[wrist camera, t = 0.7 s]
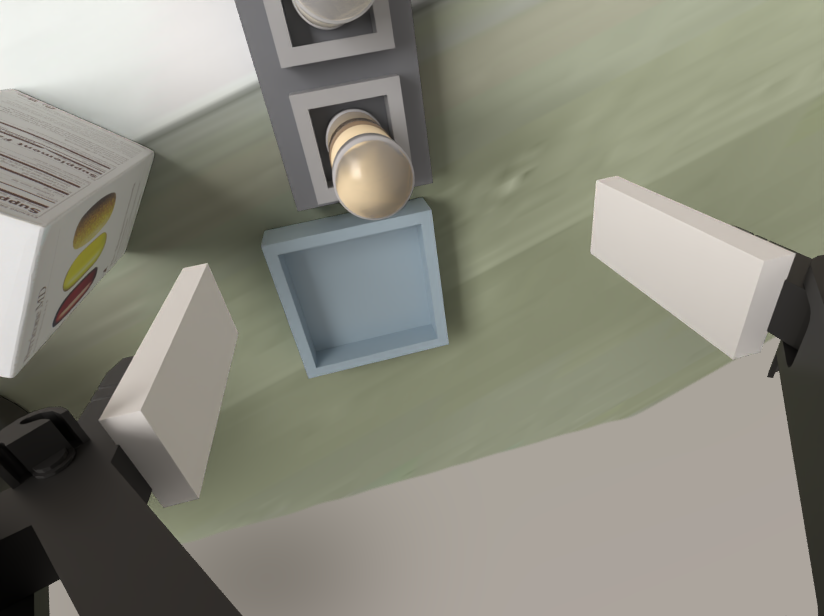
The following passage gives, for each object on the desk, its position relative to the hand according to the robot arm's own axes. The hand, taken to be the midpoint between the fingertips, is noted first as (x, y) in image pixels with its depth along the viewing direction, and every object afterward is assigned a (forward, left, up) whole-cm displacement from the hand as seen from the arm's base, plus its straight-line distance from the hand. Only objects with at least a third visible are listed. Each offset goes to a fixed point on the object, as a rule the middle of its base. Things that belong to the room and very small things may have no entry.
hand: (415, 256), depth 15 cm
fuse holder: (0, +5, -24) cm, 25 cm away
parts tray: (-2, -13, -24) cm, 28 cm away
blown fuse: (0, 0, -21) cm, 21 cm away
